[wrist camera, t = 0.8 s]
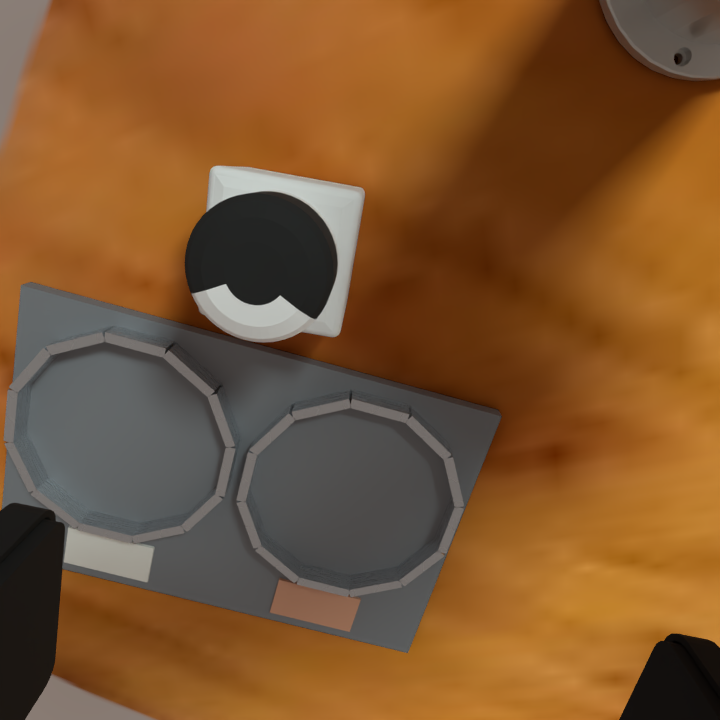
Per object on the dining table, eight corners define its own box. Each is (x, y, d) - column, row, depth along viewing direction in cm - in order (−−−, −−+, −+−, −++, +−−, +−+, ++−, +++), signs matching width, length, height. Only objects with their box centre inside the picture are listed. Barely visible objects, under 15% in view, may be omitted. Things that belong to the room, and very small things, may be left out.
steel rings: (29, 301, 34) (14, 307, 32) (487, 426, 36) (492, 436, 34) (11, 497, 38) (-3, 510, 37) (419, 599, 40) (421, 615, 39)
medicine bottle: (243, 165, 32) (170, 162, 21) (366, 188, 32) (361, 196, 21) (231, 287, 34) (159, 344, 23) (346, 307, 35) (331, 373, 23)
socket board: (30, 282, 35) (19, 285, 33) (498, 410, 36) (502, 417, 35) (6, 544, 41) (-4, 555, 40) (407, 642, 43) (407, 655, 42)
